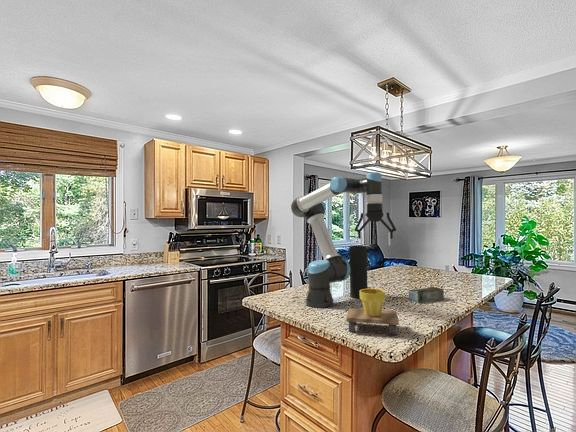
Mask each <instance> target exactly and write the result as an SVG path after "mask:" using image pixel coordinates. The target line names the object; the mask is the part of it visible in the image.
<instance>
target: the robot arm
mask: <svg viewBox="0 0 576 432" xmlns="http://www.w3.org/2000/svg"><path fill="white" fill-rule="evenodd" d="M365 175H366V177H364V178H351V177H350V178H349V177H344V176H335V177H334V176H333V177H332V178H331V180H330V182H328V183H327V184H325V185H323V186H322V187H320V188H319V187H318V188H317V189H315V190H313V191H311V192H310V193H308V194H305V195H304V196H303V195H300V196H299V197H296V198H295V199H294V200H293V201H292V203H291V205H290V210H291V212H292V214H293V215H294V216H296V217H297V218H305V220H306V222H307V223H308V224H309V225H310V226H311V229H312V231H313V234H314V237H315V239H316V241H317V244H318V247H319V249H320V252H321V255H322V258H323V259H317V260H313V261H311V262H309V264H308V266H307V268H308V270H307V274H308V275H307V277H308V291H307V294H306V297H305V305H306V306H307V305H308V307H310V306H312V307H311V308H316V307H324V308H329V307H333V306H334V298H333V295H332V292H331V284H333V283H340V282H341V283H342V282H343V281H346V280H347V279H348V278H350V262H348V261H346V260H345V259H344V260H343V257H342V255H341V254H339V253H338V251H337V249H336V246H335V243H334V242H333V239H332V237H331V234H330V232H329V229H328V226H327V224H326V222H325V215H326V210H327V208H326V205H325V203H324V202H325V201H327V200H330V199H332V198H335V197H336V196H339V195H341V194H343V193H348V194H350V195H351V194H352V195H355V194H356V195H357V194H364V193H366V203H367V204H366V213H363V212H361V213H360V217H359V220H358V221H357V223H356V226H355V228H354V232H357V236H358V237H357V238H358V239H359V240H360V246H363V232H362V231H363V229H364V228H365V227H366V226H367V225H368V223H369V222H381V224H382V225H384V227H385V228H386V229H387V230H388V231H389V232H388V234H387V236H388V237H387V238H388V246H391V239H393V238H394V237H393V236H394V235H393V233H394V232H396V231H397V227H395V226H396V225H395V224H394V223H393V220H392V219H391V217H390V213H389V212H383V204H382V203H383V179H382V173H380V172H378V171H377V172H376V171H375V172H368V173H366V174H365ZM365 217H366V218H367V219H366V220H365V222H364V223H363V225H362V226H361V223H362V221H363V219H364V218H365ZM383 217H385V218H387V221H388V222H389V225H390V226H391V227H390V226H389V225H388V224H387V223H386V222H385V220H384V219H383ZM360 226H361V227H360ZM359 227H360V228H359Z"/></svg>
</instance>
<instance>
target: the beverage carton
mask: <svg viewBox="0 0 576 432" xmlns="http://www.w3.org/2000/svg"><path fill="white" fill-rule="evenodd" d="M444 299H445V294H444V289H443V288H440V287H435V286H430V287H424V288H415V289H408V301H411V302H413V303H417V304H421V303H422V304H423V303H430V302H436V301H442V300H444Z"/></svg>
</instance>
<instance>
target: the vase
mask: <svg viewBox="0 0 576 432" xmlns="http://www.w3.org/2000/svg"><path fill="white" fill-rule="evenodd" d="M348 248H349V249H348V250H349V254H348V258H349V265H350V274H349V294H350V295H349V296H350V298H352V299H356V300H357V299H360V292H359V291H360V290H362V289H368V251H367V250H368V249H367V248H368V246H367V245H350V246H349V247H348ZM360 300H361V299H360Z"/></svg>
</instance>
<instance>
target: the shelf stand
mask: <svg viewBox="0 0 576 432" xmlns="http://www.w3.org/2000/svg"><path fill="white" fill-rule="evenodd" d="M345 320H346V322H348V332H349V333H352V334H353V333H356V325H357V323H362V324H374V325H375V324H377V325H378V324H379V325H388V328H389V336H392V337H396V336H397V335H398V328H397V327H398V326H399V325H400V322H399V316H398V313H397V311H396V310H383V309H382V313H381V315H380V316H376V317H373V316H367V315H365V313H364V308H363V309H362V308H351V307H349V308H348V311H347V314H346V319H345Z"/></svg>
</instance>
